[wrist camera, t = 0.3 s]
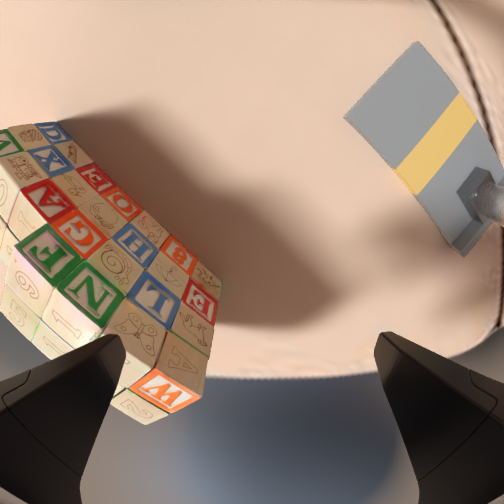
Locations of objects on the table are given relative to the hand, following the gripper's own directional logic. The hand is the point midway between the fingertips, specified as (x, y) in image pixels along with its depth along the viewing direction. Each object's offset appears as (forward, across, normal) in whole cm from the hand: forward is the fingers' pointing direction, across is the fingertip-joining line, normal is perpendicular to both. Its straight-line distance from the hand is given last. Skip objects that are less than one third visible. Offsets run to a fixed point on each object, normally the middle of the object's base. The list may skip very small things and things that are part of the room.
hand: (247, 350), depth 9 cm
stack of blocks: (+14, -12, 0) cm, 19 cm away
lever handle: (+14, +20, +3) cm, 24 cm away
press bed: (+14, +16, +6) cm, 22 cm away
